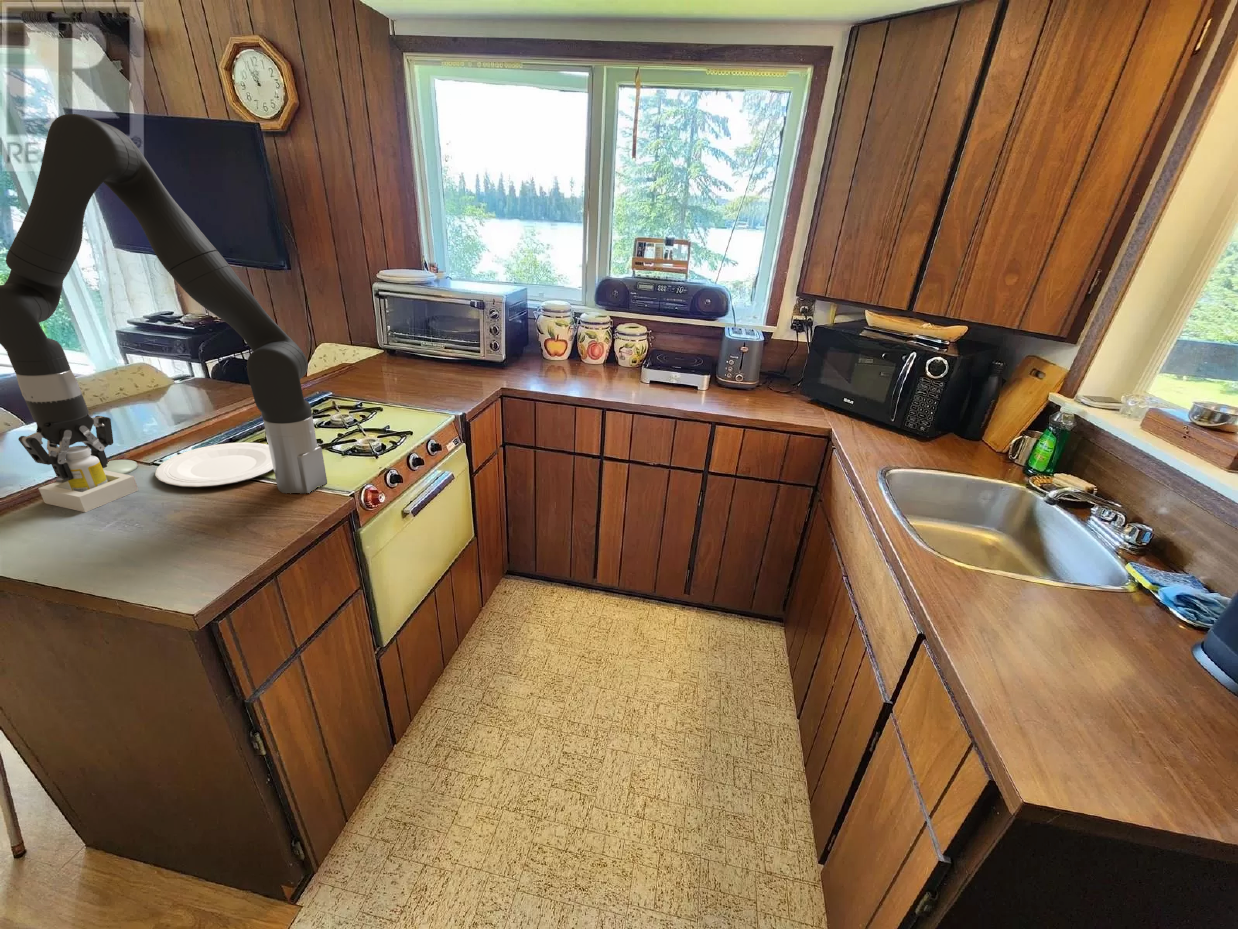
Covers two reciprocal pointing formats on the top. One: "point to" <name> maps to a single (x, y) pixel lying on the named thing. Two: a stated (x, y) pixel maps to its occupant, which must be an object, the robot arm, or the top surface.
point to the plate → (216, 465)
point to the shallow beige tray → (89, 492)
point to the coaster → (121, 466)
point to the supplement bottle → (84, 469)
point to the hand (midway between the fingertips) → (85, 472)
